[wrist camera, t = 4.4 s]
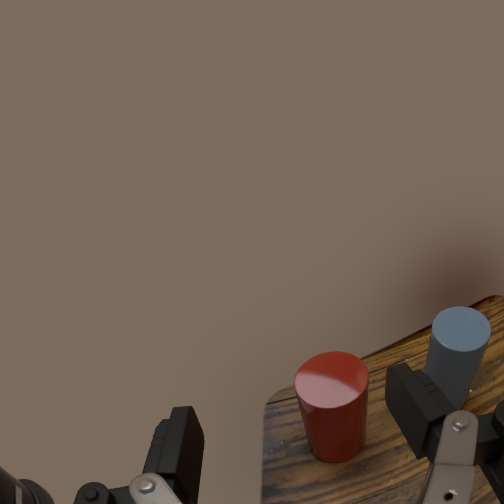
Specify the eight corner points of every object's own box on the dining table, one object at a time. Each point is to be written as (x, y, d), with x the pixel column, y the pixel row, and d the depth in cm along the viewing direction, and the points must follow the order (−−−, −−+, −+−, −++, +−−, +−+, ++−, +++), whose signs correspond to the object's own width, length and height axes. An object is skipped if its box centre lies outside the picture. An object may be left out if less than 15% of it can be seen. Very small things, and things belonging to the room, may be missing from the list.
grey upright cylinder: (427, 426, 22) (449, 360, 18) (410, 387, 27) (422, 316, 22) (472, 407, 21) (502, 336, 17) (452, 371, 26) (470, 299, 22)
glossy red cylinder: (311, 467, 22) (297, 415, 18) (305, 422, 27) (290, 359, 23) (370, 454, 22) (377, 397, 17) (358, 410, 26) (358, 344, 22)
